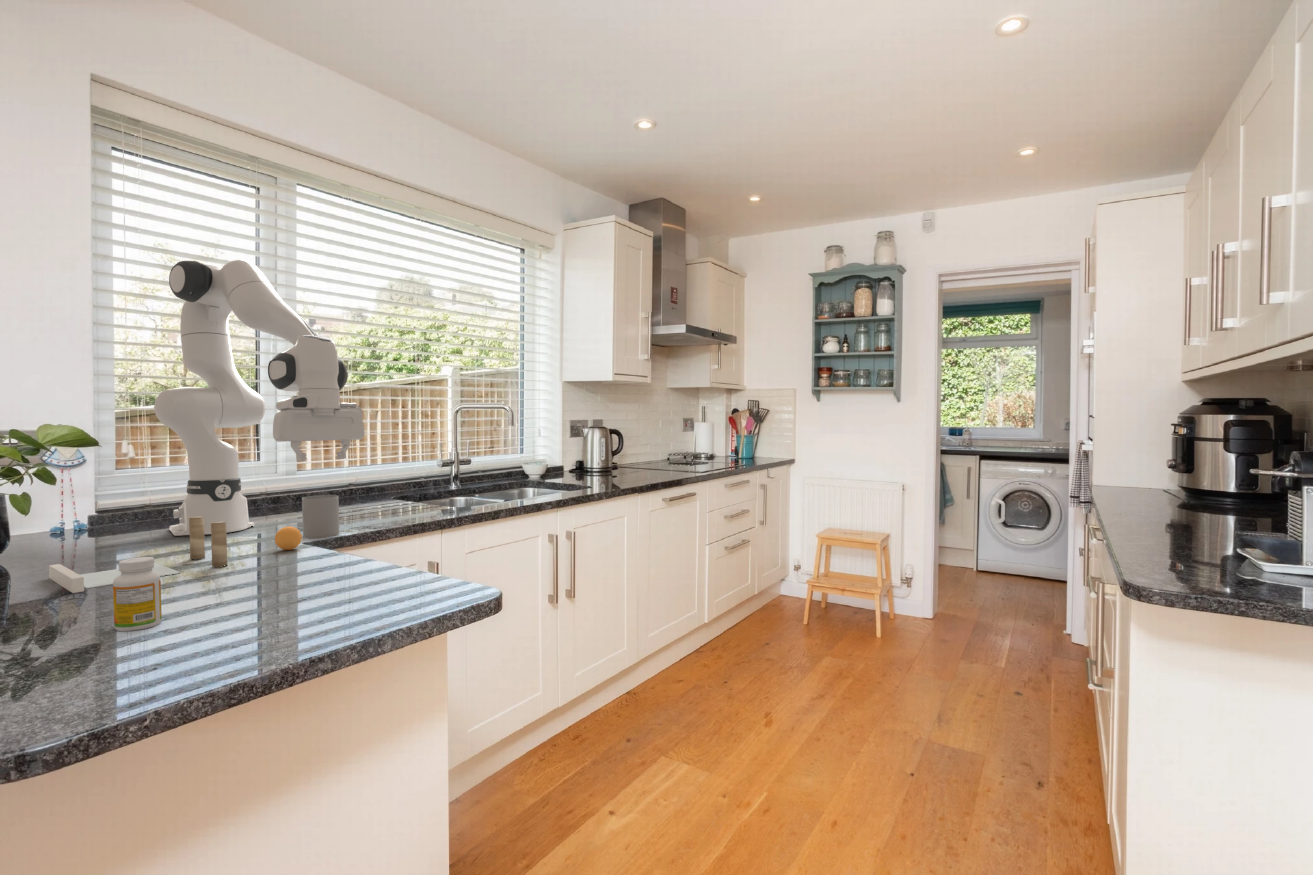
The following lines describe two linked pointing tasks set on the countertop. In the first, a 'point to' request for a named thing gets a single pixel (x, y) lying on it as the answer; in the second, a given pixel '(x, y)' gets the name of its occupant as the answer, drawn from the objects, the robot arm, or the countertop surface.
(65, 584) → the wall
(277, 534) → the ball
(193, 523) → the post
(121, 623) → the supplement bottle
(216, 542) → the post
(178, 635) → the countertop surface
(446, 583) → the countertop surface
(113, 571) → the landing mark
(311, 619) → the countertop surface
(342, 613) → the countertop surface
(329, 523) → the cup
